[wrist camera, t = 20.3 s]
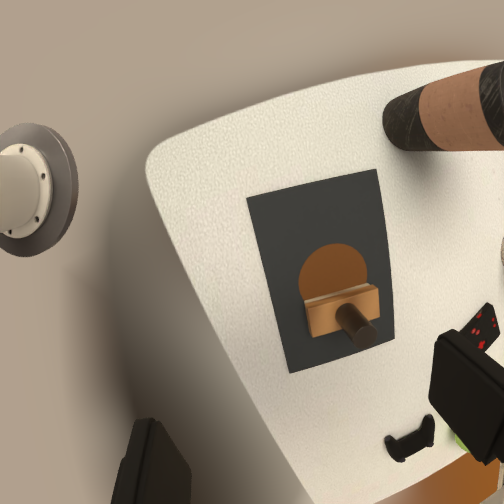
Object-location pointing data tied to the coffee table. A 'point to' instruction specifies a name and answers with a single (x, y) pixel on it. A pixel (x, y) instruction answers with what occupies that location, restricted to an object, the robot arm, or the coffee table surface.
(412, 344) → the coffee table surface
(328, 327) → the scrub brush
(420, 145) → the travel mug
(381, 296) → the scrub mat
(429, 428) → the gaming controller
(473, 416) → the robot arm
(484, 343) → the handheld gaming console
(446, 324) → the coffee table surface
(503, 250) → the mug
